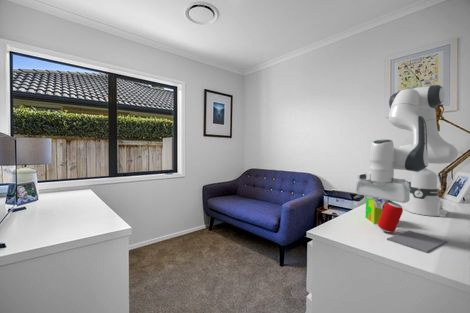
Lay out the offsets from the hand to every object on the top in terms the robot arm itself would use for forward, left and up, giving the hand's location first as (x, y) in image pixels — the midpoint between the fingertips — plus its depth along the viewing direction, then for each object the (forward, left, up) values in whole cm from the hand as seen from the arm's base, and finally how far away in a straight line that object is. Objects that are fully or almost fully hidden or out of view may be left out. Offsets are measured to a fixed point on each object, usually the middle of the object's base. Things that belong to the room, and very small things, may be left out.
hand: (379, 208), depth 92 cm
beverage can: (0, +2, -9) cm, 9 cm away
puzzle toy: (-13, -6, -10) cm, 17 cm away
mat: (0, +13, -9) cm, 16 cm away
